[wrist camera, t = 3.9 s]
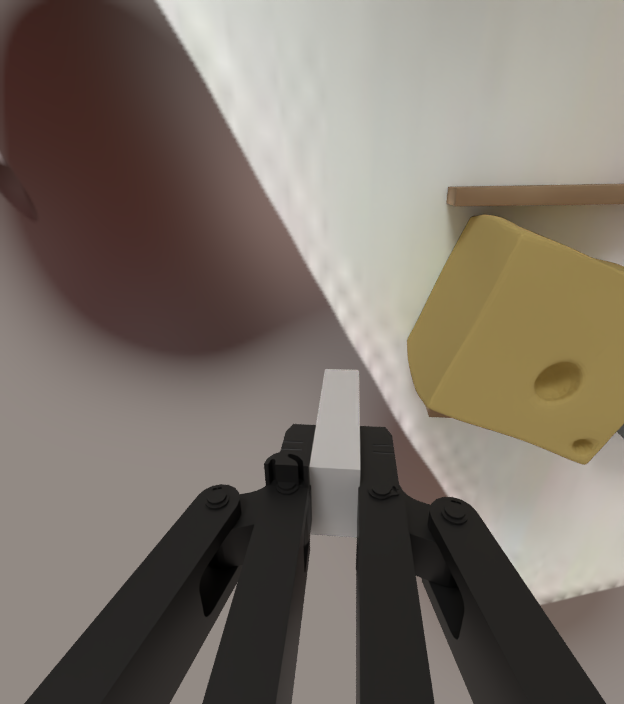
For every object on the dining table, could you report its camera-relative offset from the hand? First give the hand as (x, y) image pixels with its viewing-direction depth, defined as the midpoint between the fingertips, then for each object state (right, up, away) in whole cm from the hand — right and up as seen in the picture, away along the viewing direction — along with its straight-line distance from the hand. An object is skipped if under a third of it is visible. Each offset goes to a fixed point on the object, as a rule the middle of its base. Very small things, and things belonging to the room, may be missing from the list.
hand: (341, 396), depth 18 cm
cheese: (+12, +5, +11) cm, 17 cm away
